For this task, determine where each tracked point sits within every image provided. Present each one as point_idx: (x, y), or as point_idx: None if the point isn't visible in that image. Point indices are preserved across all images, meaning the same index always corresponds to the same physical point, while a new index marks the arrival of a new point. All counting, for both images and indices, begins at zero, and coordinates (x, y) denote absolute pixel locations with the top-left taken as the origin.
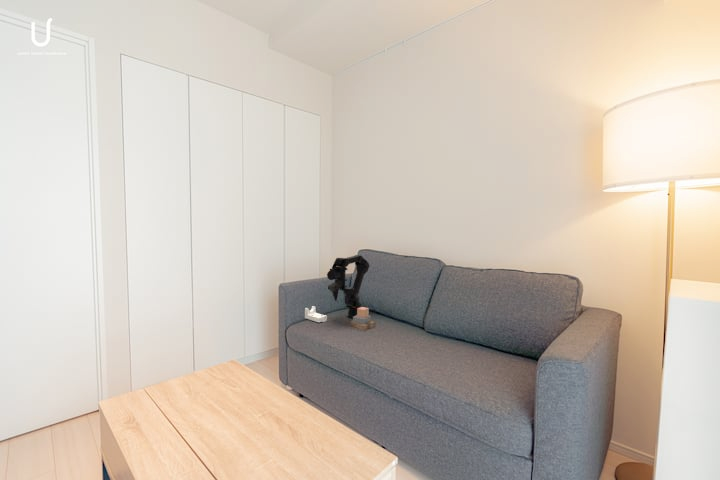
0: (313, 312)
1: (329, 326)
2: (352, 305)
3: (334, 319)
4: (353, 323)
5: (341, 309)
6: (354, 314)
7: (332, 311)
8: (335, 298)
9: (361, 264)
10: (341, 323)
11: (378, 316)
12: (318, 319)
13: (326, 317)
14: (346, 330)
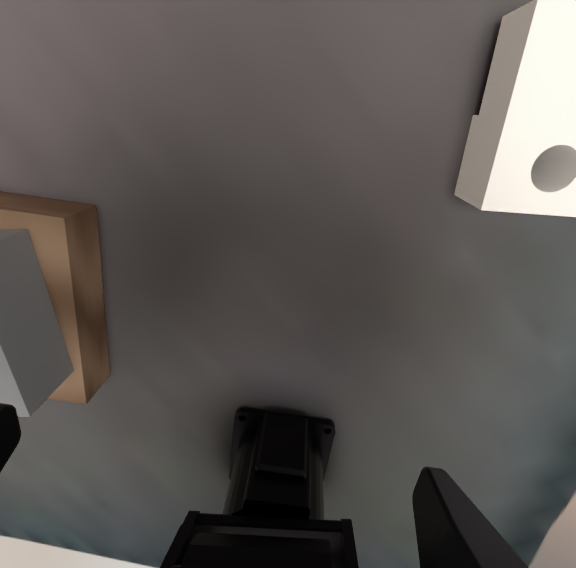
0: None
1: (279, 22)
2: (208, 541)
3: (396, 289)
4: (4, 208)
5: (510, 543)
6: (241, 455)
7: (568, 470)
8: (448, 541)
9: None
10: (237, 225)
11: (125, 538)
12: (535, 3)
13: (473, 197)
14: (4, 49)
